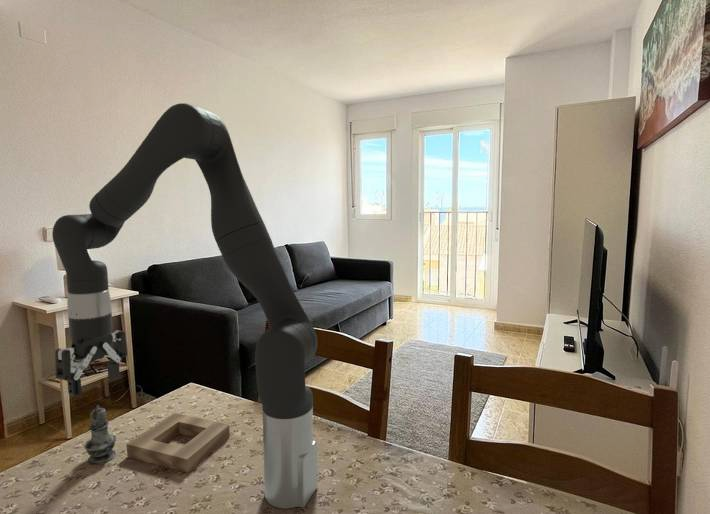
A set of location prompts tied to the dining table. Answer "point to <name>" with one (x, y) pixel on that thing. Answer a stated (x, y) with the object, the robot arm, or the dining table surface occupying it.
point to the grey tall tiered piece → (100, 439)
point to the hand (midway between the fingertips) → (95, 387)
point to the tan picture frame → (179, 458)
